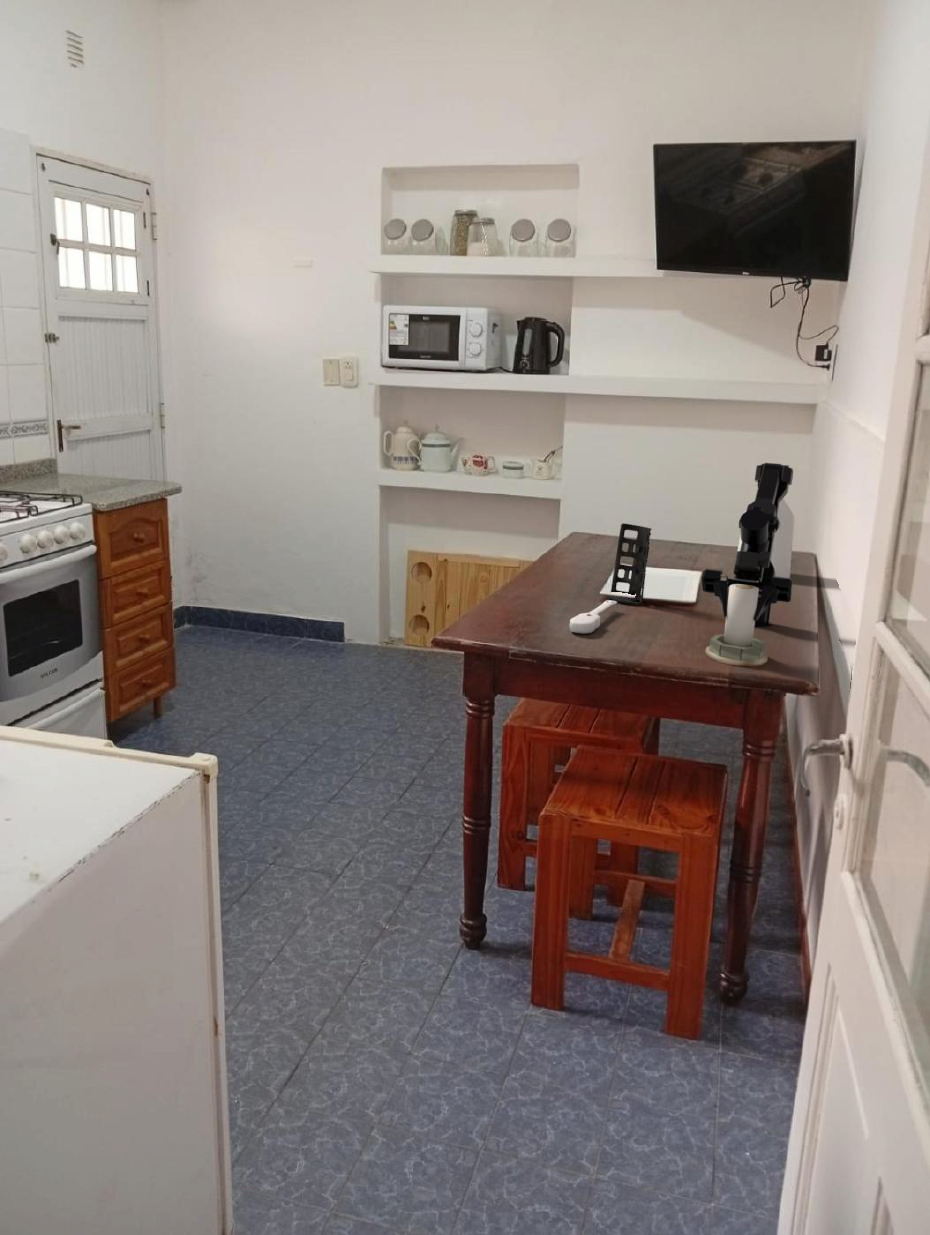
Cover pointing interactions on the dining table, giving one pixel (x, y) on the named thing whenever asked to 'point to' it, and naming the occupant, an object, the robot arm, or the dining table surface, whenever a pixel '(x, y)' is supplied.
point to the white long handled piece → (589, 619)
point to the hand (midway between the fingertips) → (739, 617)
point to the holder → (638, 563)
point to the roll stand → (736, 652)
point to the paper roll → (740, 615)
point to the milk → (782, 541)
